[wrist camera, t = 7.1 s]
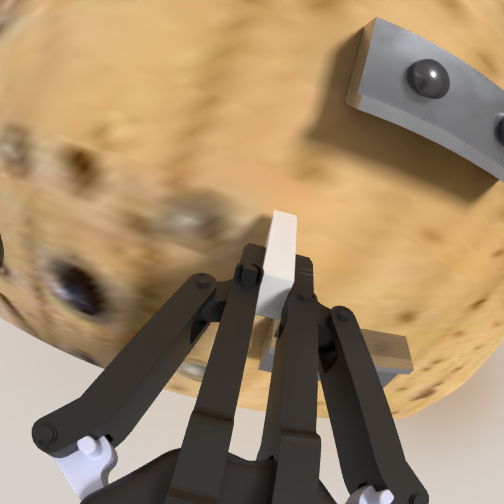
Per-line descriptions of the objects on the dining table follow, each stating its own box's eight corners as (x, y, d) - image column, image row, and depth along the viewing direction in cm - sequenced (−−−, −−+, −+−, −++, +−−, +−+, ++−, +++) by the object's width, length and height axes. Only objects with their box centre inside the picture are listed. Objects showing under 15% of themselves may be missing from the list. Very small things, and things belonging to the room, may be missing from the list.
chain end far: (262, 345, 29) (256, 379, 25) (275, 310, 25) (270, 348, 22) (380, 366, 28) (384, 397, 25) (405, 336, 25) (413, 369, 22)
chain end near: (344, 103, 15) (358, 109, 12) (363, 26, 12) (382, 12, 8) (500, 178, 15) (531, 202, 11) (521, 118, 12) (555, 133, 8)
